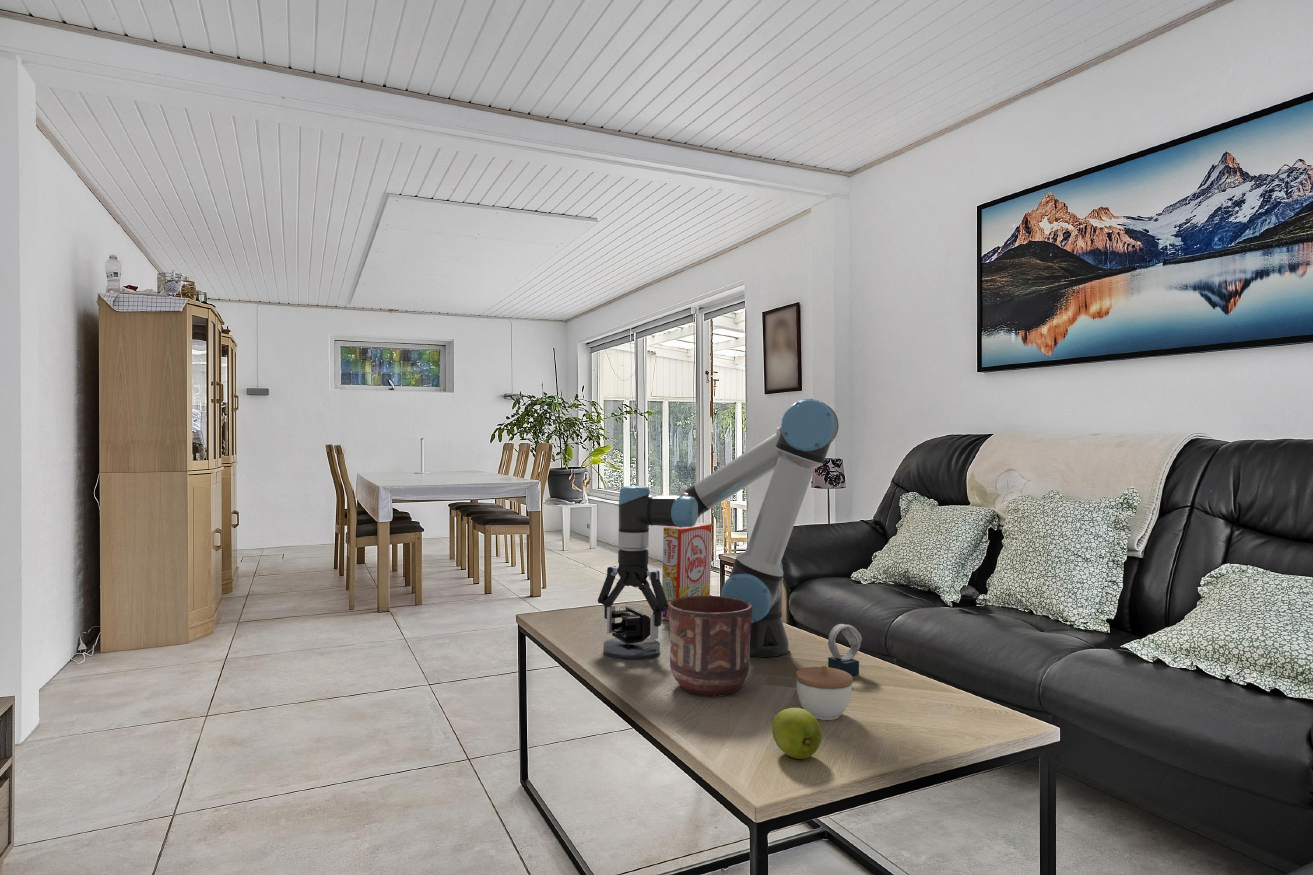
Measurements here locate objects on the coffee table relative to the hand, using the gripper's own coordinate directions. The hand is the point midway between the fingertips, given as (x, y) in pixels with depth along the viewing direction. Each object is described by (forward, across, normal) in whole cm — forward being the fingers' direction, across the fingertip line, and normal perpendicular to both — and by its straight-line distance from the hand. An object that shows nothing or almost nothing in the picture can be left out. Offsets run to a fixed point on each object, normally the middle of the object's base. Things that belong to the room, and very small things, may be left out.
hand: (632, 635), depth 192 cm
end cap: (+1, 0, 0) cm, 1 cm away
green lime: (+4, -56, +40) cm, 69 cm away
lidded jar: (+4, -54, +18) cm, 57 cm away
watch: (+4, -50, -11) cm, 51 cm away
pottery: (+4, -28, +15) cm, 32 cm away
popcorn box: (+4, +7, -44) cm, 45 cm away
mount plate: (+4, 0, 0) cm, 4 cm away
